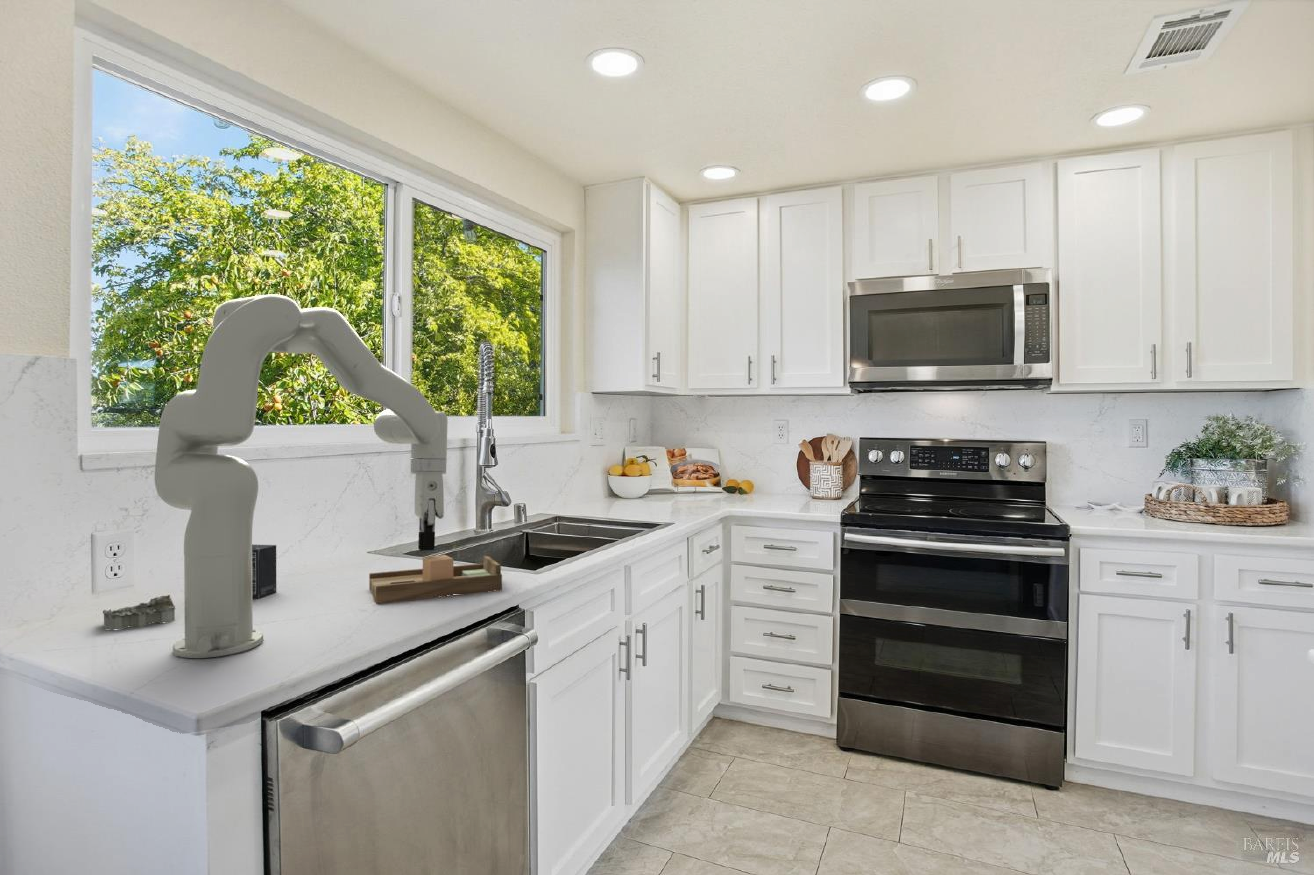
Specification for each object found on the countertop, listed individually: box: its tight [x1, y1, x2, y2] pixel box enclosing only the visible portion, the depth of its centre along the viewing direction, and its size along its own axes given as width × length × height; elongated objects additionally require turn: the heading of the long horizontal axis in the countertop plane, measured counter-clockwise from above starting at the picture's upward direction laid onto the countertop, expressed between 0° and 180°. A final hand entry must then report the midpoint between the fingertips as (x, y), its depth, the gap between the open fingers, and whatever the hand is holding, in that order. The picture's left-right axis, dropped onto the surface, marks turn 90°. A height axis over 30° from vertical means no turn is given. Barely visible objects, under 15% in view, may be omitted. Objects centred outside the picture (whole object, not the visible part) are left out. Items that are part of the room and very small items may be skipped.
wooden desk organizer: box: [368, 555, 503, 605], centre depth 156 cm, size 14×26×6 cm, turn 118°
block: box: [422, 554, 454, 581], centre depth 154 cm, size 5×5×5 cm
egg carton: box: [102, 594, 177, 630], centre depth 129 cm, size 11×8×4 cm
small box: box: [252, 544, 277, 599], centre depth 150 cm, size 11×6×10 cm, turn 84°
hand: (426, 549), depth 155 cm, fingers closed
